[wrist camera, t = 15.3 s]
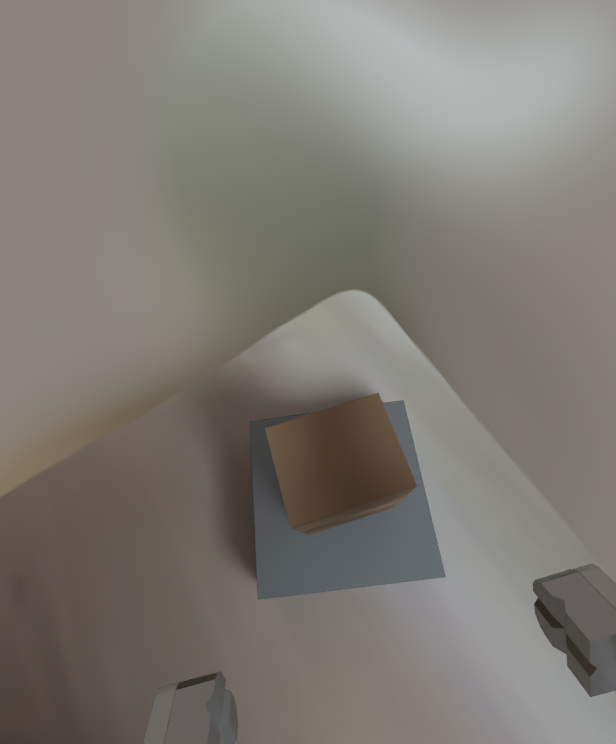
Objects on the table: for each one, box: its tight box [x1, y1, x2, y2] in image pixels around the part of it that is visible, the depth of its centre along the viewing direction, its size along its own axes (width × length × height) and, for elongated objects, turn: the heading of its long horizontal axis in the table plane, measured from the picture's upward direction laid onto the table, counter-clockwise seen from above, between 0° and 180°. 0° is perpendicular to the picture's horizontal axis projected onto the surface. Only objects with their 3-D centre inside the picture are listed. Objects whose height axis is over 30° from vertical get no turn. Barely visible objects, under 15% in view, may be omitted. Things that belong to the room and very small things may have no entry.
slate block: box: [250, 400, 445, 599], centre depth 24 cm, size 10×10×4 cm
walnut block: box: [265, 393, 417, 535], centre depth 18 cm, size 5×4×8 cm
